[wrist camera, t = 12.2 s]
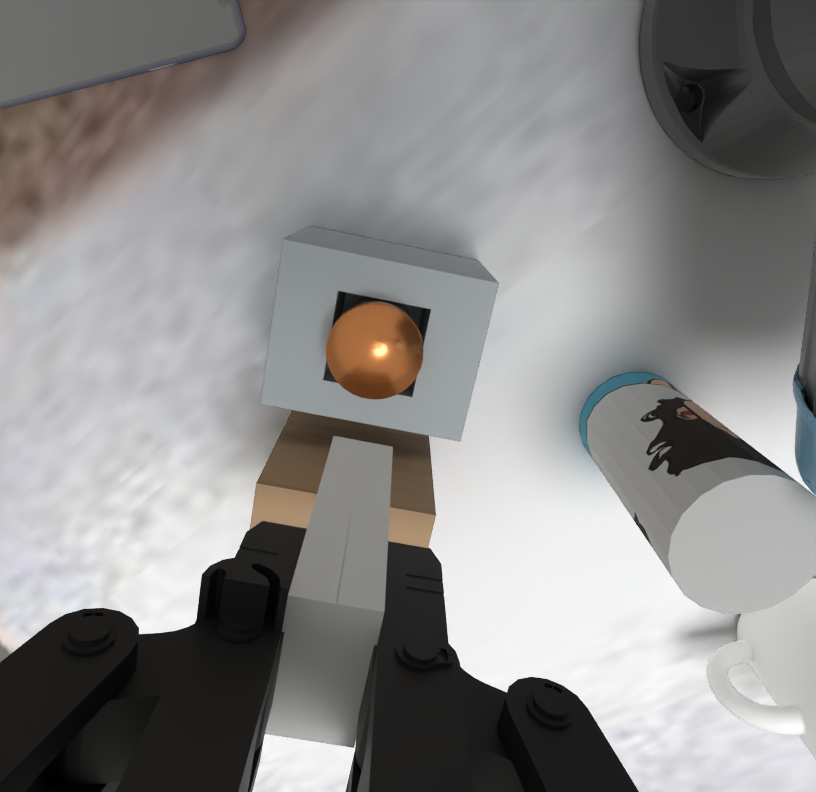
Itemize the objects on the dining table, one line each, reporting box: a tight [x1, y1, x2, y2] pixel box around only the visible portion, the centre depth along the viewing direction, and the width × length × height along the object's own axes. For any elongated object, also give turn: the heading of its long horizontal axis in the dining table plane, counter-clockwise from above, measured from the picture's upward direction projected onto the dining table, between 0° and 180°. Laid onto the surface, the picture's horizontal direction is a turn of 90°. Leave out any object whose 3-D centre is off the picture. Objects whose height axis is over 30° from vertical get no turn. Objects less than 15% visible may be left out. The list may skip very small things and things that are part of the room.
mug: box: [706, 578, 816, 759], centre depth 42 cm, size 12×8×10 cm
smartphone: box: [0, 0, 246, 108], centre depth 34 cm, size 8×1×15 cm
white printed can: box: [579, 372, 816, 614], centre depth 35 cm, size 7×7×15 cm
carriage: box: [250, 410, 436, 548], centre depth 36 cm, size 6×8×13 cm
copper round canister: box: [326, 296, 423, 399], centre depth 33 cm, size 4×4×7 cm
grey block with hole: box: [260, 226, 499, 441], centre depth 35 cm, size 8×10×9 cm
